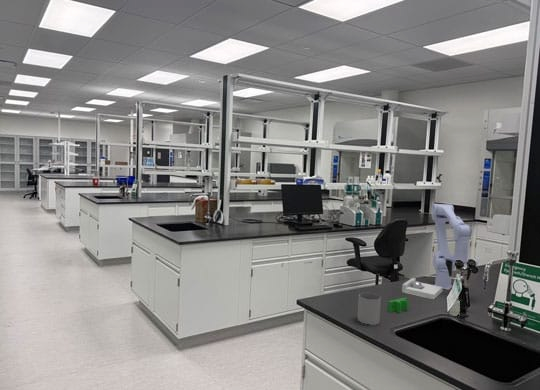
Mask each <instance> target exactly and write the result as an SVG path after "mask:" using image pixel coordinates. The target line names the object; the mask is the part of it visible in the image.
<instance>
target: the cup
mask: <svg viewBox="0 0 540 390" xmlns="http://www.w3.org/2000/svg"><path fill="white" fill-rule="evenodd" d="M381 300H382V297H381V296H380V295H379V294H376V293H372V292H361V293H359V294H358V303H357V304H358V305H357V318H358V319H357V321H358V320H359V321H360V322H362V323H361V324H363V323H365V324H364V325H366V324H370V325H369V326H376V324H377V325H379V324H380V317H381V302H382V301H381ZM359 321H358V322H359ZM360 322H359V323H360ZM378 323H379V324H378Z"/></svg>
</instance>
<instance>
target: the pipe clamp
mask: <svg viewBox="0 0 540 390" xmlns="http://www.w3.org/2000/svg"><path fill="white" fill-rule="evenodd" d="M408 309H409V299H408V298H407V297H402V298H397V299H394V300H388V303H387V312H388V313H392V312H393V313H394V312H396V313H398V314H401V311H405V312H408Z"/></svg>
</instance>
